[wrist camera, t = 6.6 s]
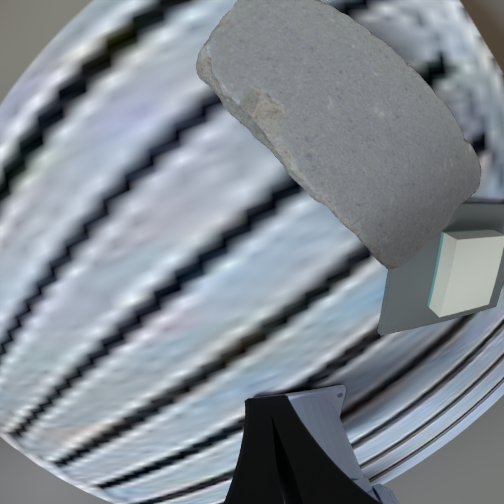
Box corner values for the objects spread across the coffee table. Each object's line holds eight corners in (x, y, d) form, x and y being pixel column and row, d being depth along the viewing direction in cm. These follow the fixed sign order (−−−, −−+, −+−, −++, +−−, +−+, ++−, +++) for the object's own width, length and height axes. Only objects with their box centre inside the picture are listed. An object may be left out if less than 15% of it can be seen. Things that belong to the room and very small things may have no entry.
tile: (427, 305, 21) (476, 294, 22) (439, 317, 20) (488, 304, 20) (441, 231, 19) (491, 228, 20) (457, 239, 17) (505, 235, 18)
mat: (492, 303, 23) (495, 306, 23) (377, 331, 22) (380, 335, 22) (514, 203, 20) (519, 205, 19) (395, 201, 18) (400, 203, 18)
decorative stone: (392, 242, 20) (442, 111, 17) (450, 291, 14) (515, 118, 10) (176, 172, 17) (232, 13, 14) (149, 201, 11) (238, -43, 7)
